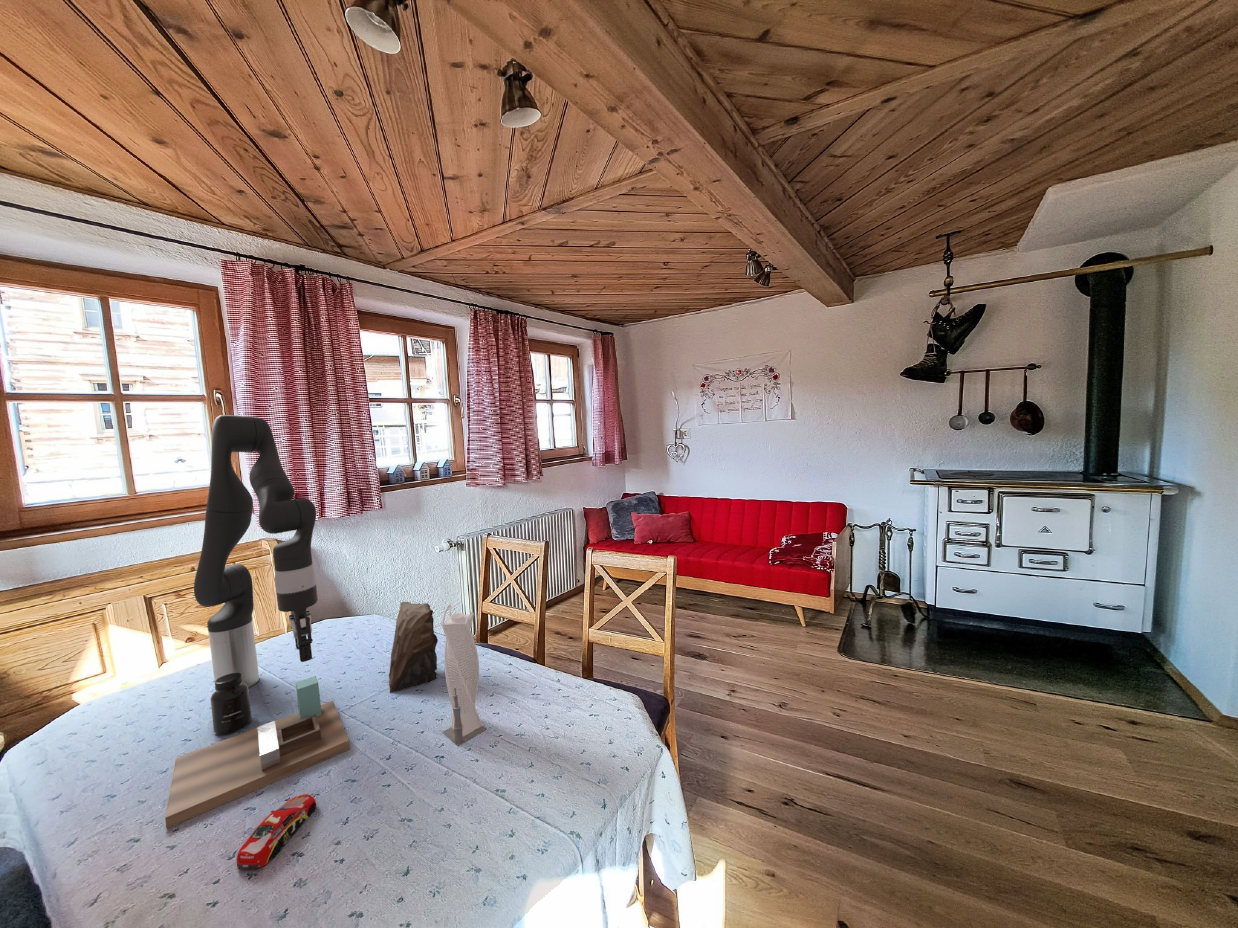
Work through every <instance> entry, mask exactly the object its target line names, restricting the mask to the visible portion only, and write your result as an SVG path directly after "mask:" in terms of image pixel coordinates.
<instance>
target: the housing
mask: <svg viewBox="0 0 1238 928" xmlns="http://www.w3.org/2000/svg"><path fill="white" fill-rule="evenodd" d="M321 713H322V715H320V716H318V717H316V714H315V715H313V716H310V717H307V718H305V719H302V720H300V716H299V712H297V713H294V714H292V715H289V716H287V717H284V718H281V719H279V720H274V721H275V725H276V732H277V738H278V745H279V753H280V761H281V762H280V763H278V764H276V765H273V766H271V767H268V768H266V769H263V770H262V768H261V760H260V750H259V739H258V728H257V727H256V728H253V729H251V730H248V731H246V732H242V733H239V734H238V735H234V736H232V737H228V738H226V739H223V740H221V741H218V742H215V743H212V744H210V745H208V746H207V745H206V746H204V747H202V748H201V747H200V748H199V749H196V750H193V751H190V752H187V753H186V754H185V753H184V754H182V755H179V756H177V757H175V762H174V766H173V773H172V776H171V777H172V778H171V784H170V790H169V794H168V799H167V806H166V811H165V816H164V820H165V826H166V827H165V828H166V829H168V828H171V827H173V826H176V825H179V824H180V823H182V822H184V821H185V822H186V821H187V820H190V819H192V818H194V817H197V816H199V815H201V814H203V813H205V812H208V811H210V810H212V809H215V808H217V807H219V806H222V805H224V804H226V803H229V802H231V801H233V800H236V799H239V798H240V797H241V798H242V797H243V796H244V795H247V794H250V793H252V792H254V791H257V790H259V789H261V788H263V787H266V786H268V785H270V784H273V783H275V782H277V781H280V780H282V779H284V778H286V777H289V776H291V775H293V774H295V773H298V772H300V771H302V770H305V769H308V768H310V767H312V766H314V765H317V764H319V763H322V762H323V761H326V760H328V759H330V758H333V757H335V756H338V755H340V754H342V753H345V752H346V751H349V750H350V740H349V737H348V735H347V732H346V729H345V728H344V725H343V722H342V719H341V717H340V715H339V712H338V709H337V707H336V705H335V702H334V700H330V701H328V702H324V703H322V704H321Z"/></svg>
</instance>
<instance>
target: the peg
mask: <svg viewBox="0 0 1238 928" xmlns="http://www.w3.org/2000/svg"><path fill="white" fill-rule="evenodd" d="M319 687H320V686H319V681H318V678H317V676H316V675H314V676H311V677H308V678H305V679H301V680H300V681H296V682H295V689H296V690H295V691H296V699H297V706H298V708H297V709H298V713H299V716H300V720H302V719H305V718H307V717H310V716H313V715H315V714H316V717H318V716H320V715H322V713H321V705H322V704H321V697H320V696H321V695H320V688H319Z"/></svg>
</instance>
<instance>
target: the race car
mask: <svg viewBox="0 0 1238 928" xmlns="http://www.w3.org/2000/svg"><path fill="white" fill-rule="evenodd" d="M316 801H317V800H316V799H315V797H314V796H312V794H310V793H309V794H307V793H306V794H304V793H303V794H300V795H297V796H294V797H292V798H290V799H289V800H287V801H285V803H283V804H282V805H281V806H280V807H279V808H277V809H276V810H271V811H270V814H268V815H267V816H266V817H265V818H264V819H263V821H262V822H260V824H259V825H258V826H257V827H256V828H255V830H253V832H251V834H250V836H249V837H248V838H247V839H246V841H245V842H244V843H243V844H242V846H241V847H240V848H239V850H238V852H237V854H236V855H237V856H236V860H235V861H236V867H237V869H238V870H241V869H242V870H255V869H259V868H261V867H263V866H265V865H267V864H268V863H269V862H270V861H272V859H275V858H276V856H277V855H278V854H279V853H280V852H281V850H282V848H283V847H284V846H286V844H287V843H288V842H289V841H290V839H292V837H293V836H294V835H295V834H296V833H297V831H298V830H299V829H300V828H301V827H302V825H303V824H304V823H305V822H306V821H307V820H308V819H309V818H310V817H311V815H312V814H313V813H314V812H315V811H316V807H317V802H316Z"/></svg>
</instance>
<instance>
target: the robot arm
mask: <svg viewBox="0 0 1238 928" xmlns="http://www.w3.org/2000/svg"><path fill="white" fill-rule="evenodd" d="M210 453H211V455H210V456H211V458H210V459H211V460H210V463H211V464H210V466H211V467H210V477H209V479H210V480H209V486H208V487H209V488H208V495H207V501H206V507H205V515H204V516H205V517H204V532H203V537H202V539H203V541H202V544H201V545H202V547H201V552H200V556H199V561H198V565H197V567H196V568H197V569H196V571H195V572H196V573H195V577H194V582H193V595H194V598H195V600H196V602H197V604H199V605H200V606H202V607H203V608H210V607H216V606H219V605H221V604H222V607H221V608H220V609H219V610H218V611H216V612H215V613H214V614H213V615H211V616H210V617H209V619H208V620H207V623H206V624H207V631H208V641H209V648H210V654H211V664H212V671H213V679H214V682H215V681H216V680H217V679H218V678H220V677H222V676H224V675H227V674H231V673H241V675H242V680H243V681H242V683H245V684H246V685H247V686H248V688H250V687H252V686H254V685H256V683H258V682H259V680H260V674H259V665H258V664H259V663H258V657H257V655H258V654H257V648H256V647H257V646H256V639H255V632H254V630H255V629H254V624H253V621H254V620H253V613H254V607H255V606H254V604H255V603H254V588H253V579H252V575H251V572H250V570H249V568H247V567H246V566H245V565H243V564H240V563H235V564H230V565H227V562H228V559H229V557H230V555H231V553H232V552H233V550H234V549H235V547H236V546H237V545H238V544H239V542H240V541H241V540H242V538H243V537H244V536H245V534H246V532H247V530H248V529H249V527H250V526H251V522H252V515H253V508H254V500H253V499H254V498H253V496H252V495H251V493H250V491H249V490H248V488H247V487H246V485H245V484H244V483H243V482H242V481H241V479H240V477H238V475H237V472H236V471H235V469H234V467H233V463H232V453H258V455H259V457H258V458H257V459H256V461H255V462H254V464H253V465H252V467H251V468H250V471H249V472H250V473H249V482H250V485H251V488H252V489H253V491H254V493H255V495H256V497H257V501H258V505H259V507H258V508H259V510H258V522H259V523H258V524H259V526H260V528H261V529H262V530H263V532H266V533H268V534H270V535H271V534H273V535H274V534H275V535H276V534H282V533H286V532H291V531H292V532H293V531H295V533H294V535H293V536H292V537H291V538H289V539H287V540H285V541H282V542H280V543H277V544H276V545H274V547H273V549H272V554H273V563H274V573H275V574H274V584H275V595H276V602H277V609H278V611H280V612H282V613H289V612H290V614H288V620H289V624H290V629H291V630H292V634H293V638H294V643H295V648H296V650H298V653H299V661H300V662H301V663H306V662H308V661H311V660H312V659H313V654H312V653H313V652H312V645H311V644H312V643H313V639H312V638H313V637H312V632H313V627H312V622H311V621H312V615H311V612H310V610H309V609H308V608H310V607H312V606H314V605H316V604H317V603H318V601H319V598H318V590H317V580H316V572H315V569H314V565H313V556H312V541H313V539H312V538H313V533H314V528H315V526H316V525H315V524H316V520H317V509H316V505H315V504H314V503H313V502H312V500H310V499H308V498H304V497H303V498H296V499H295V498H294V497H295V488H294V487H293V485H292V483H291V481H290V479H289V477H288V476H287V474H286V472H285V469H284V468H283V465H282V463H281V460H280V456H279V451H278V448H277V445H276V441H275V437H274V434H273V431H272V428H271V427H270V425H269V423H268V421H267V420H266V419H264V418H262V417H258V416H257V417H256V416H247V415H246V416H245V415H233V414H231V415H229V414H220V415H218V416H216V418H215V419H214V421H213V424H212V431H211V452H210ZM293 498H294V499H293ZM307 609H308V610H307Z"/></svg>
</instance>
